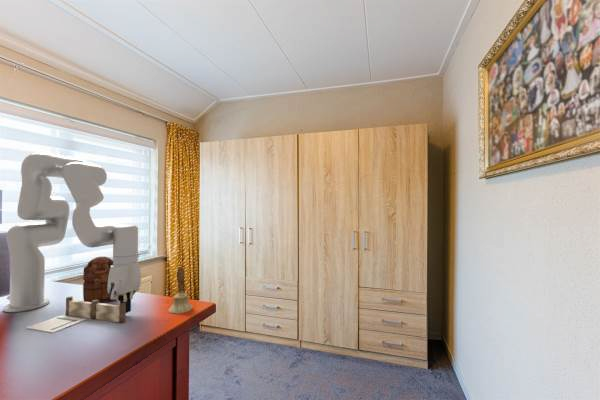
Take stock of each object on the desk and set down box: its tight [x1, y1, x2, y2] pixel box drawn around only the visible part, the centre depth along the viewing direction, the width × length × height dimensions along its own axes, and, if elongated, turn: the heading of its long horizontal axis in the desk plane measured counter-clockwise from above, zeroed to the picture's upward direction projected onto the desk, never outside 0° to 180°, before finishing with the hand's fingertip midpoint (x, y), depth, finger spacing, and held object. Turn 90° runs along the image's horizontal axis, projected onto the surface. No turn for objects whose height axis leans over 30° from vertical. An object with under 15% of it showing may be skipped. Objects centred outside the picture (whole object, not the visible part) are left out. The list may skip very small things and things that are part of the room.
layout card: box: [26, 315, 87, 334], centre depth 92 cm, size 12×10×1 cm
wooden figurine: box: [82, 256, 118, 304], centre depth 113 cm, size 12×6×18 cm, turn 129°
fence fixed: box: [65, 296, 99, 320], centre depth 99 cm, size 14×2×6 cm, turn 74°
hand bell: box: [168, 266, 193, 315], centre depth 105 cm, size 8×8×16 cm
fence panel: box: [95, 303, 127, 324], centre depth 95 cm, size 12×2×6 cm, turn 74°
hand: (125, 311), depth 100 cm, fingers closed
